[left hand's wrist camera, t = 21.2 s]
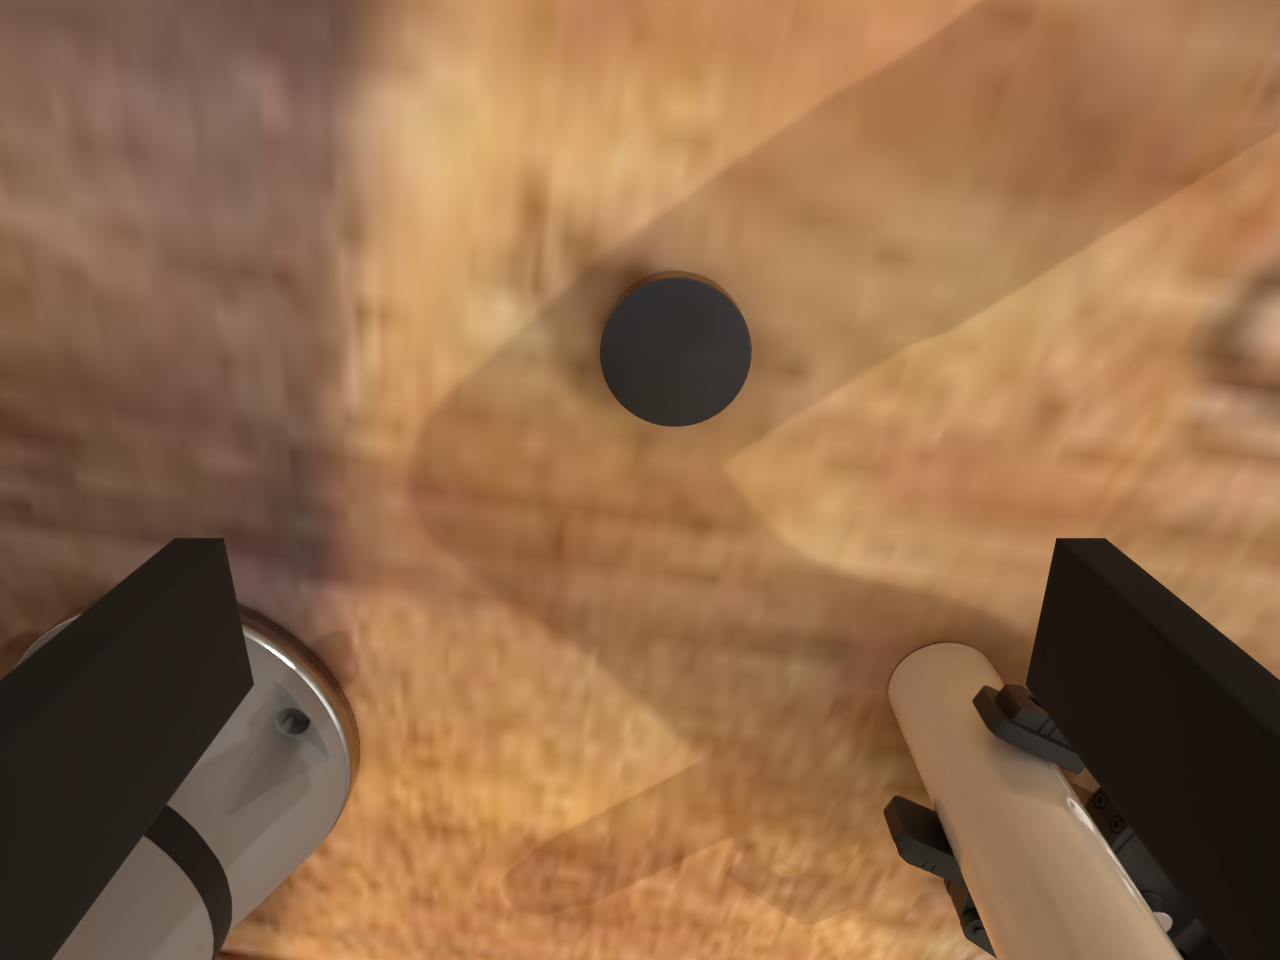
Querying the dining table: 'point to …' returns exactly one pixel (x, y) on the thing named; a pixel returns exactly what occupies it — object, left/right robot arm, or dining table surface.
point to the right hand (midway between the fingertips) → (938, 766)
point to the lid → (675, 349)
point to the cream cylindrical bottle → (1017, 825)
